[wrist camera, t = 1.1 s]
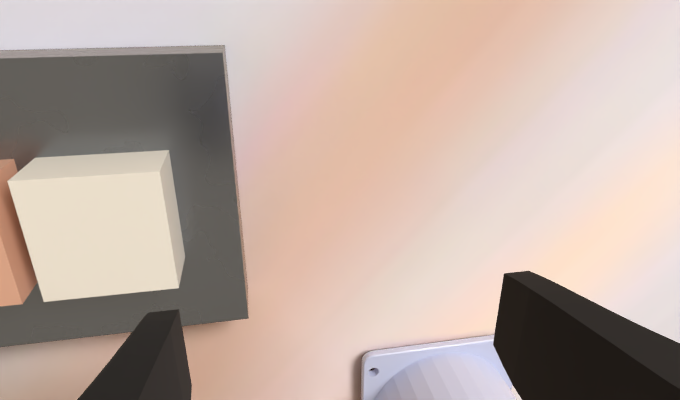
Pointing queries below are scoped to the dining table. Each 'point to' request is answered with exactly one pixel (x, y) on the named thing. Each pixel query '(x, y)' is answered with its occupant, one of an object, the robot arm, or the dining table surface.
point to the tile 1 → (12, 246)
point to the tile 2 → (100, 223)
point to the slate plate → (133, 136)
